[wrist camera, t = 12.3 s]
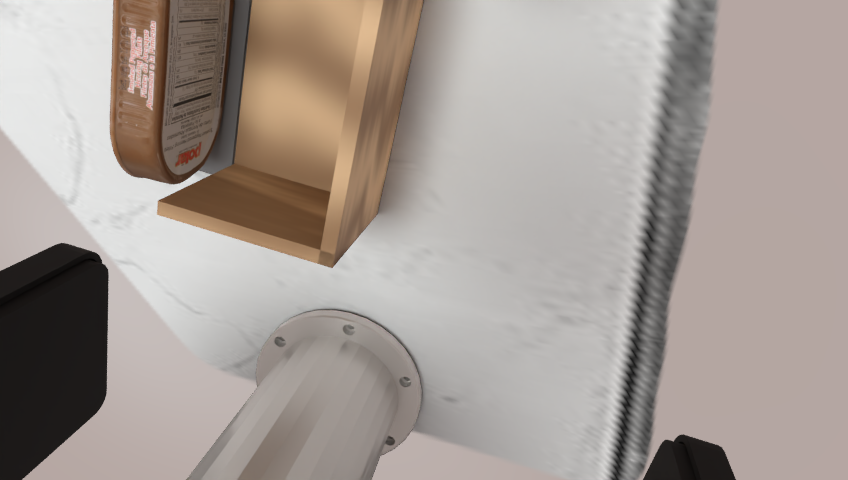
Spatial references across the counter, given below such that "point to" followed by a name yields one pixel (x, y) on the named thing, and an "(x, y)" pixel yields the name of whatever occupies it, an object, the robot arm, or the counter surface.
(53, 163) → the counter surface
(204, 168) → the flat grey bar
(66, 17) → the counter surface
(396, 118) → the cabinet carcass
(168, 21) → the tin
